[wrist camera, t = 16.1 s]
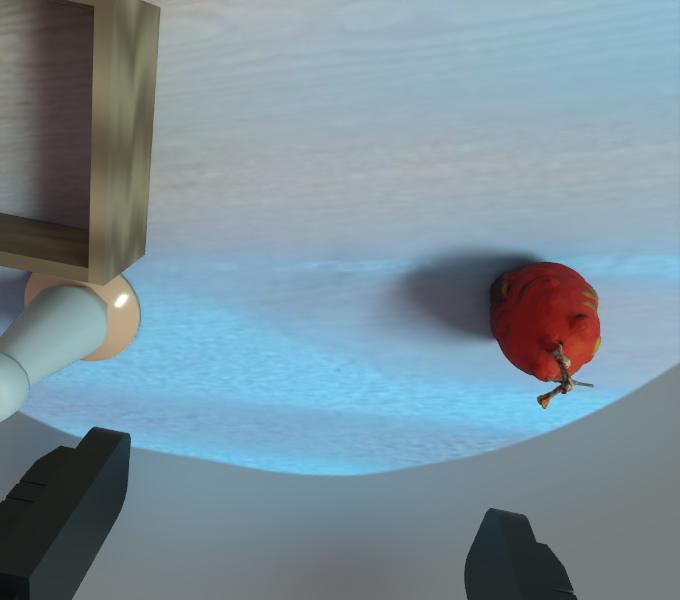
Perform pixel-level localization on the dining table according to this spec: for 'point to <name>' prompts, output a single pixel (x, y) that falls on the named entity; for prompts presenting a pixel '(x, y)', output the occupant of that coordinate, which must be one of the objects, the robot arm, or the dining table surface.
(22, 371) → the salt shaker
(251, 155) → the dining table surface
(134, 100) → the walnut box
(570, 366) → the red clay folk toy
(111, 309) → the tan round coaster
